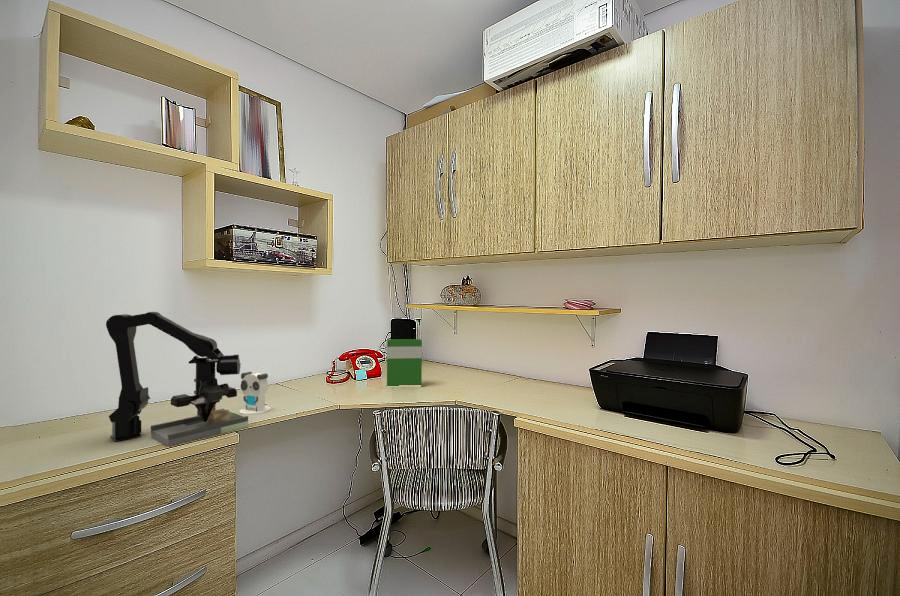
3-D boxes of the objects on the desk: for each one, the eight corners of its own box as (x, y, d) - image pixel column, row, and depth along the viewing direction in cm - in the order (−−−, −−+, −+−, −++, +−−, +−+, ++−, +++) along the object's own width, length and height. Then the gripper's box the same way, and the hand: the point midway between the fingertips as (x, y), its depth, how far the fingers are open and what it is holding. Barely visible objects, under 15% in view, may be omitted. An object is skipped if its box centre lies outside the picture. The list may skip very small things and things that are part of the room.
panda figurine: (231, 411, 157) (232, 374, 157) (256, 405, 167) (257, 369, 167) (252, 415, 152) (252, 376, 152) (276, 408, 162) (277, 372, 162)
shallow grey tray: (168, 446, 120) (168, 435, 120) (150, 436, 128) (150, 425, 128) (248, 426, 139) (248, 416, 139) (227, 418, 148) (227, 409, 148)
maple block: (214, 424, 135) (214, 414, 135) (207, 421, 138) (207, 411, 138) (229, 421, 139) (229, 411, 139) (222, 418, 142) (222, 408, 142)
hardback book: (420, 384, 211) (420, 339, 211) (421, 387, 204) (421, 340, 204) (387, 384, 209) (387, 339, 209) (386, 388, 201) (387, 340, 201)
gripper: (184, 383, 123) (183, 433, 122) (245, 374, 138) (244, 419, 138) (170, 379, 129) (169, 426, 129) (229, 371, 144) (229, 413, 144)
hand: (205, 421), depth 135 cm, fingers closed
